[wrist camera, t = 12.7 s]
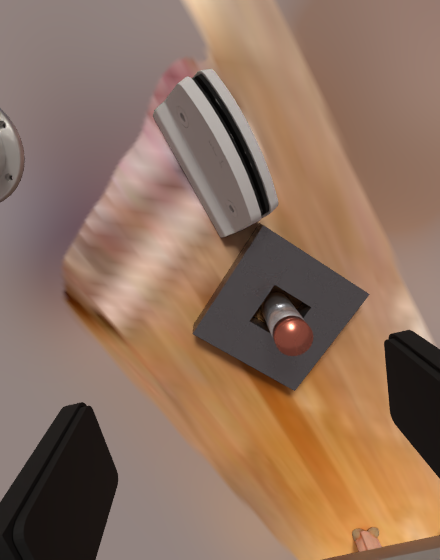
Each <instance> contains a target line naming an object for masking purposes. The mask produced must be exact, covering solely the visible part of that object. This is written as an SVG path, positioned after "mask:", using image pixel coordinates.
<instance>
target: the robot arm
mask: <svg viewBox="0 0 440 560" xmlns="http://www.w3.org/2000/svg"><path fill="white" fill-rule="evenodd" d="M5 125H6V127H5ZM23 171H24V150H23V145H22V142H21V138H20V136H19V134H18V132H17V129H16V127H15V126H14V124H13V123H12V121H11V120H10V118H9V117H8V116H7V115H6V114H5V113H4V111H3V110H1V108H0V202H2V201H4V200H5V199H6V198H7V197H9V196H10V195H11V194H12V193H13V192H14V191H15V189H16V188H17V186H18V184H19V182H20V181H21V177H22V174H23ZM12 176H13V179H12ZM384 347H385V359H386V371H387V382H388V394H389V406H390V414H391V417H392V419H393V421H394V423H395V425H396V426H397V427H398V428H399V430H400V431H401V432H402V433H403V434H404V436H405V437H406V438H407V439H408V441H409V442H410V443H411V444H412V445H413V447H414V448H415V449H416V450H417V452H418V453H419V454H420V455H421V456H422V458H423V459H424V460H425V461H426V462H427V464H428V465H429V466H430V467H431V469H432V470H433V471H434V472H435V473H436V475H437V476H438V477H439V478H440V349H438V348H437V347H435V346H434V345H432V344H431V343H429V342H428V341H426V340H425V339H424V338H422V337H421V336H419V335H418V334H416V333H415V332H413V331H411V330H406V331H402V332H397V333H393V334H390V335H389V339H388V340H385V342H384ZM117 484H118V473H117V470H116V467H115V465H114V462H113V460H112V457H111V455H110V452H109V450H108V447H107V444H106V442H105V439H104V437H103V434H102V432H101V429H100V427H99V424H98V421H97V419H96V416H95V414H94V412H93V409H92V407H91V406H86V404H85V403H83V402H82V403H77V404H73V405H68V406H65V407H63V408H62V409H61V411H60V412H59V414H58V415H57V417H56V418H55V420H54V421H53V423H52V424H51V426H50V427H49V429H48V431H47V432H46V434H45V435H44V436H43V438H42V440H41V441H40V443H39V444H38V446H37V447H36V449H35V450H34V452H33V453H32V455H31V456H30V458H29V459H28V461H27V462H26V464H25V465H24V467H23V468H22V470H21V472H20V473H19V475H18V476H17V478H16V479H15V481H14V482H13V484H12V485H11V487H10V489H9V490H8V491H7V493H6V494H5V496H4V498H3V499H2V501H1V502H0V560H95V559H96V556H97V552H98V549H99V546H100V542H101V539H102V536H103V532H104V529H105V525H106V522H107V519H108V515H109V512H110V509H111V505H112V502H113V498H114V495H115V492H116V488H117ZM322 560H440V535H439V536H434V537H429V538H424V539H419V540H414V541H409V542H405V543H400V544H395V545H390V546H385V547H380V548H375V549H371V550H366V551H361V552H356V553H351V554H346V555H342V556H337V557H332V558H327V559H322Z"/></svg>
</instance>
